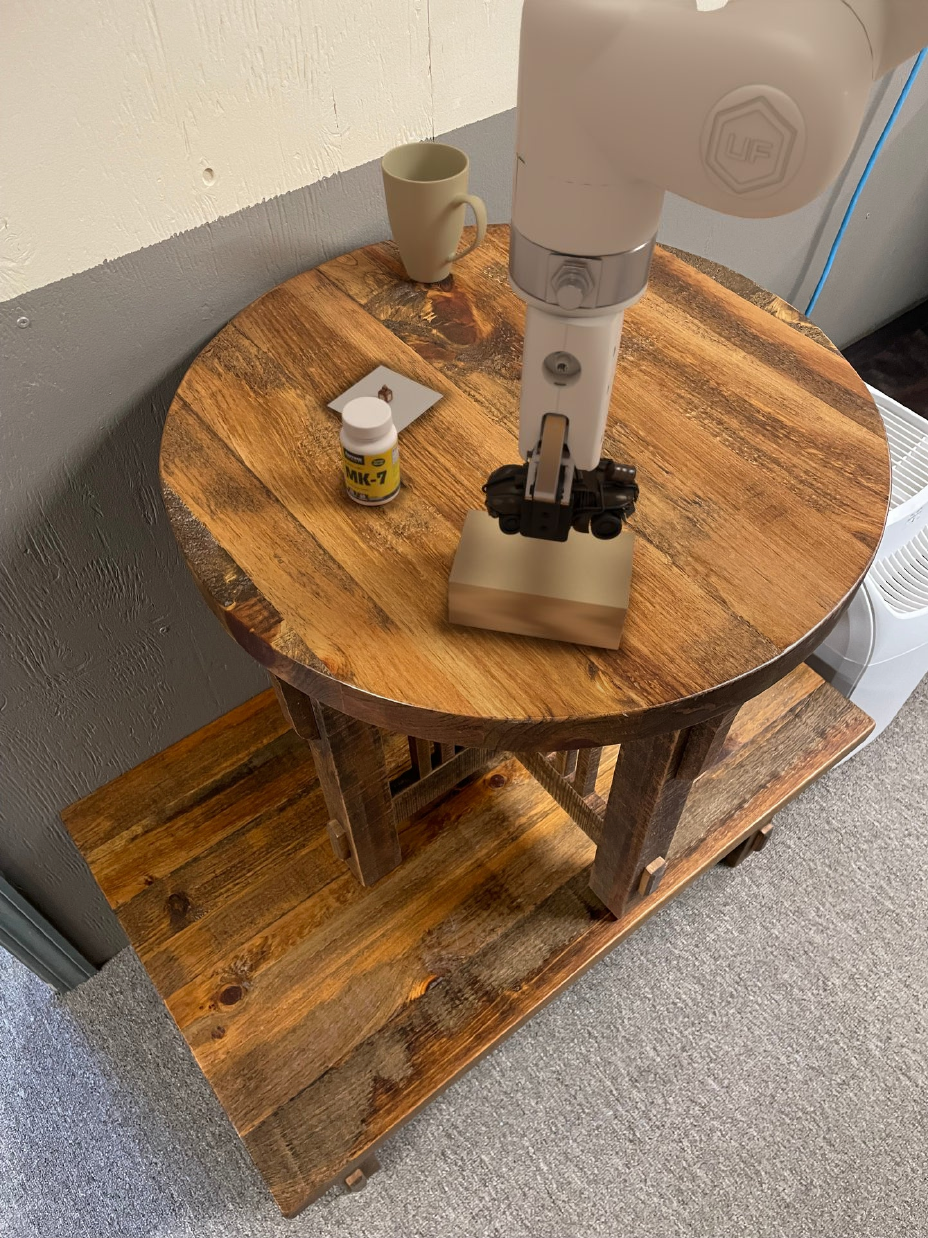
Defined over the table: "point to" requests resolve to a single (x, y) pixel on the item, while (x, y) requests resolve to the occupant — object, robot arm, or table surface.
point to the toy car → (593, 493)
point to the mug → (429, 206)
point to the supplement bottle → (369, 451)
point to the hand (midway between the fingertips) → (551, 497)
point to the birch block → (541, 583)
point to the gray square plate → (391, 395)
